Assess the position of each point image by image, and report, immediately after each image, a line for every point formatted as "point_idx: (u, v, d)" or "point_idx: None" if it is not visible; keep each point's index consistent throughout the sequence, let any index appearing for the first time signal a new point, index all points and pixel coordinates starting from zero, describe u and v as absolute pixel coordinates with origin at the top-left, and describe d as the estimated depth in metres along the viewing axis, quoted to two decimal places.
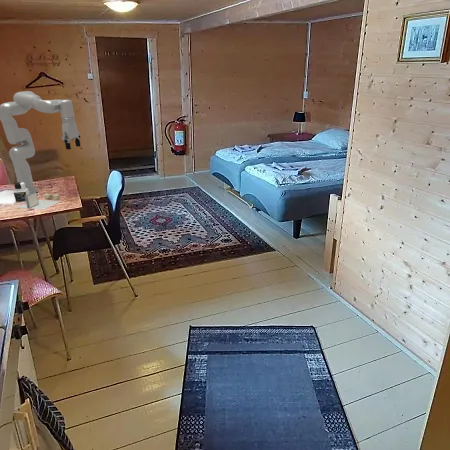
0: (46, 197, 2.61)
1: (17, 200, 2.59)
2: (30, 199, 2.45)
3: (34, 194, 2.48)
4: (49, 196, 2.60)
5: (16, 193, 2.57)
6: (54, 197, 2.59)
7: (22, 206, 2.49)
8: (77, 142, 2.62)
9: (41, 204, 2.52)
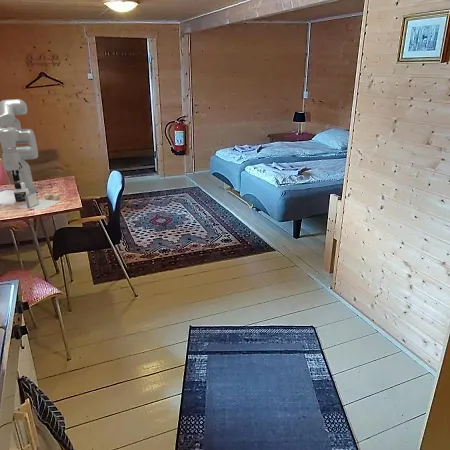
0: (46, 197, 2.61)
1: (17, 200, 2.59)
2: (30, 199, 2.45)
3: (34, 194, 2.48)
4: (49, 196, 2.60)
5: (16, 193, 2.57)
6: (54, 197, 2.59)
7: (22, 206, 2.49)
8: None
9: (41, 204, 2.52)
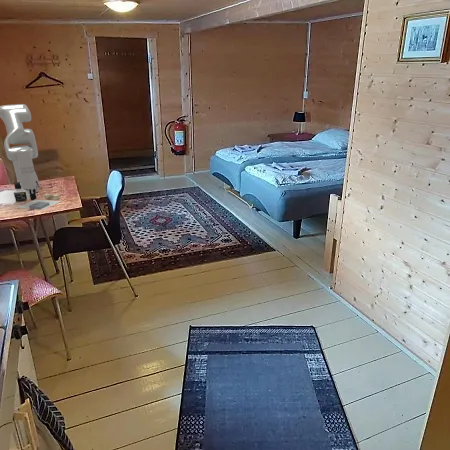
0: (46, 197, 2.61)
1: (17, 200, 2.59)
2: None
3: None
4: (49, 196, 2.60)
5: (16, 193, 2.57)
6: (54, 197, 2.59)
7: (22, 206, 2.49)
8: None
9: None
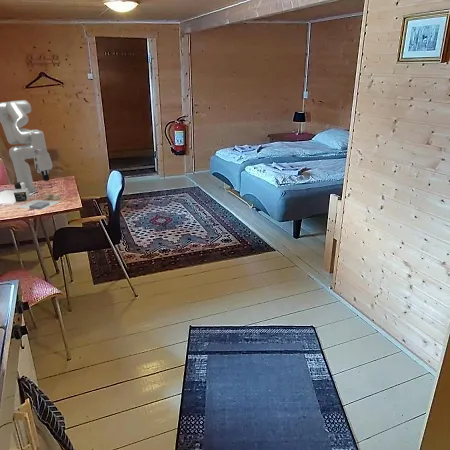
0: (46, 197, 2.61)
1: (17, 200, 2.59)
2: None
3: None
4: (49, 196, 2.60)
5: (16, 193, 2.57)
6: (54, 197, 2.59)
7: (22, 206, 2.49)
8: None
9: None
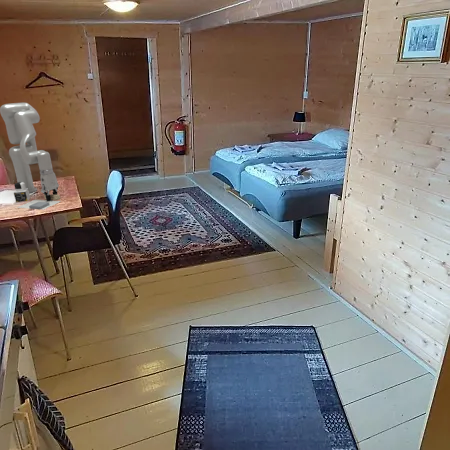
0: None
1: (17, 200, 2.59)
2: None
3: None
4: None
5: (16, 193, 2.57)
6: (54, 197, 2.59)
7: (22, 206, 2.49)
8: None
9: None
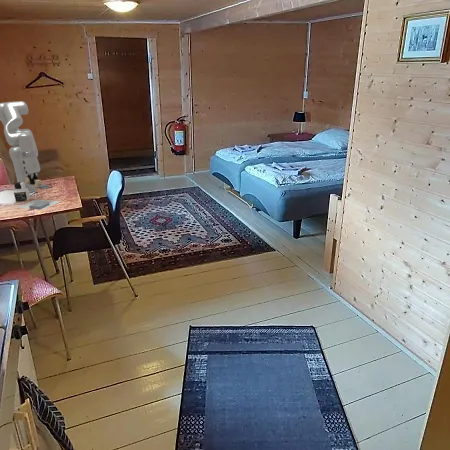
0: (27, 180, 2.53)
1: (17, 200, 2.59)
2: None
3: None
4: None
5: (16, 193, 2.57)
6: (35, 182, 2.51)
7: (22, 206, 2.49)
8: None
9: None
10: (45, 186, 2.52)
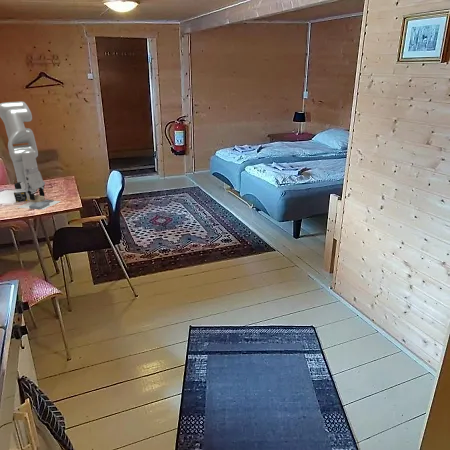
0: None
1: (17, 200, 2.59)
2: None
3: None
4: None
5: (16, 193, 2.57)
6: (38, 198, 2.55)
7: (22, 206, 2.49)
8: None
9: None
10: (48, 201, 2.56)
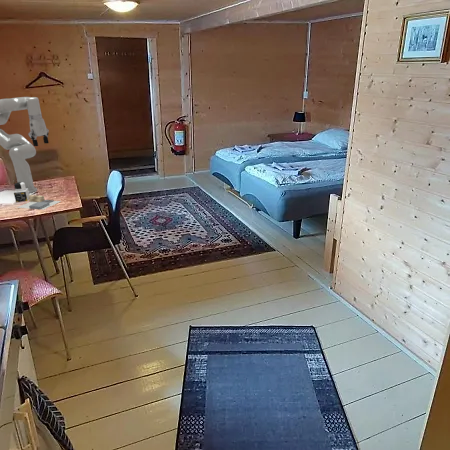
0: (30, 198, 2.57)
1: (17, 200, 2.59)
2: None
3: None
4: (33, 197, 2.56)
5: (16, 193, 2.57)
6: (38, 198, 2.55)
7: (22, 206, 2.49)
8: None
9: None
10: (48, 201, 2.56)
